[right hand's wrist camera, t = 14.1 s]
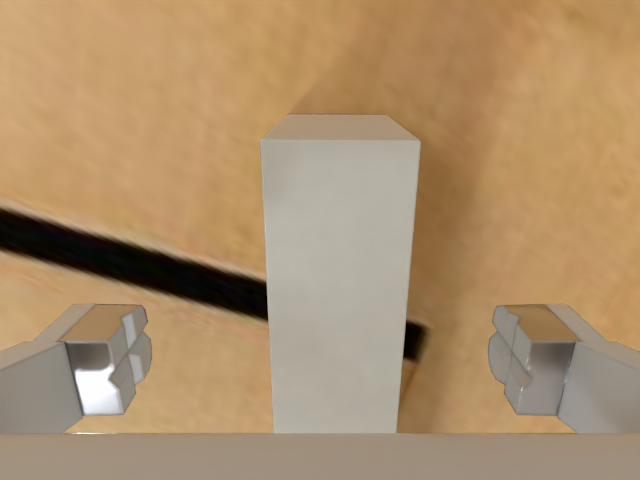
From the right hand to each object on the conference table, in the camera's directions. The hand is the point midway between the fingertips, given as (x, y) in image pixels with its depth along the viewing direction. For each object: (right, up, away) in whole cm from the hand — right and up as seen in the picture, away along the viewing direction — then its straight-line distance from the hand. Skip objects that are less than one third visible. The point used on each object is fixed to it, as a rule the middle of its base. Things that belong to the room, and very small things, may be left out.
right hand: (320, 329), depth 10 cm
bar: (+1, -3, +14) cm, 14 cm away
